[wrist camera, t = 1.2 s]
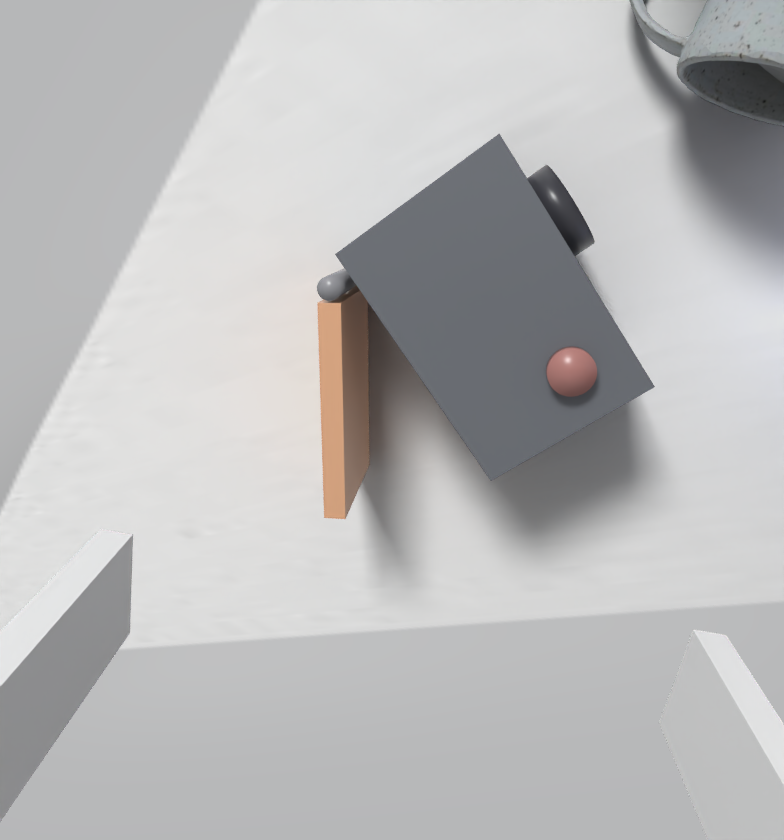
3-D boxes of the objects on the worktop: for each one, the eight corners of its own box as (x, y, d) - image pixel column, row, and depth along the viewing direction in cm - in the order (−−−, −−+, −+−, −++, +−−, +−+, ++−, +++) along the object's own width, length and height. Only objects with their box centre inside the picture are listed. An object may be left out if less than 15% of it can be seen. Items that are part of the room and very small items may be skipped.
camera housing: (643, 339, 34) (685, 374, 27) (486, 433, 37) (487, 488, 30) (517, 132, 32) (527, 111, 25) (360, 247, 35) (328, 258, 28)
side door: (369, 464, 38) (345, 518, 32) (352, 464, 38) (324, 517, 32) (367, 263, 35) (340, 276, 28) (348, 263, 35) (316, 276, 28)
